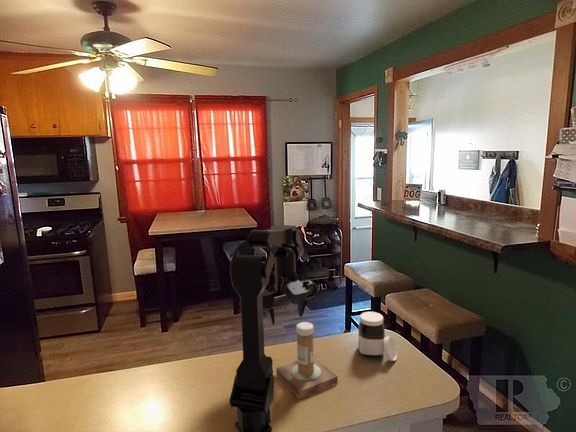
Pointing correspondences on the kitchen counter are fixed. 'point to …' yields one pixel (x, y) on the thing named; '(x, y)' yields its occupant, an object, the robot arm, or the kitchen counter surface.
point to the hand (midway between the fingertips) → (286, 320)
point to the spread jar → (375, 337)
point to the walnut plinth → (306, 378)
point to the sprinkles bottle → (305, 348)
